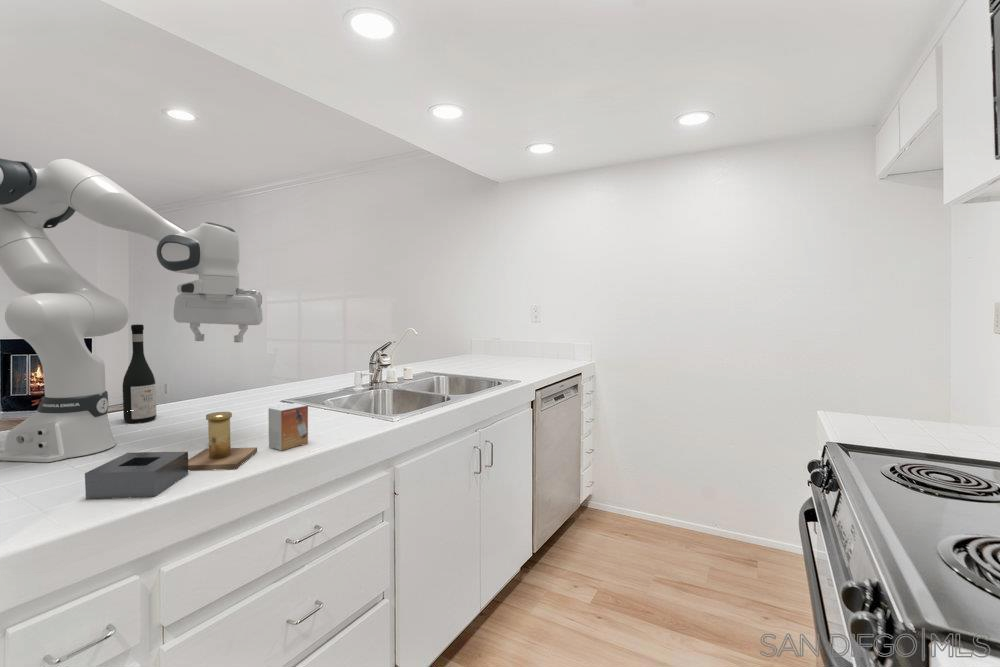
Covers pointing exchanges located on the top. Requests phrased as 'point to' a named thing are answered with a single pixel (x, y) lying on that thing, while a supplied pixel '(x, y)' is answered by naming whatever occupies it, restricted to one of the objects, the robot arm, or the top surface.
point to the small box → (288, 426)
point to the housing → (136, 475)
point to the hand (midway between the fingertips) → (219, 341)
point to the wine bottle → (139, 383)
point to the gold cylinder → (219, 434)
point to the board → (230, 462)
